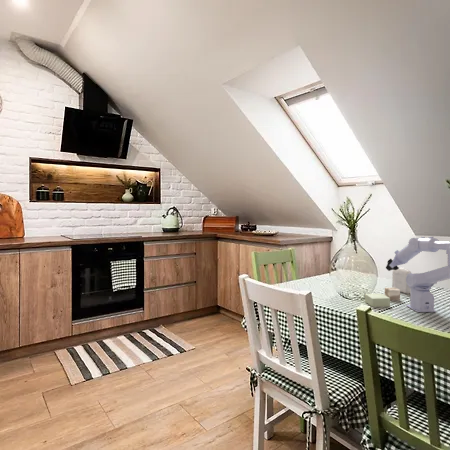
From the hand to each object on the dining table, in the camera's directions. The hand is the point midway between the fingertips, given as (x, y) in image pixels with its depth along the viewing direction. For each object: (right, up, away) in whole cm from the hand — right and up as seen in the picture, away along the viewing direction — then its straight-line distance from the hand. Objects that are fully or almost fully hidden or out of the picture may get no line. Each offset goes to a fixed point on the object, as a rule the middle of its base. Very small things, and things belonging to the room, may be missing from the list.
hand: (392, 265), depth 172 cm
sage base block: (-13, -17, -11) cm, 24 cm away
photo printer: (+10, -15, +11) cm, 21 cm away
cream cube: (-2, -16, -3) cm, 16 cm away
